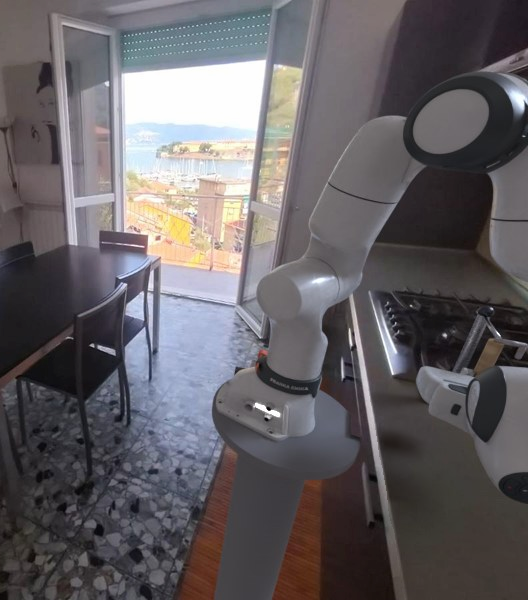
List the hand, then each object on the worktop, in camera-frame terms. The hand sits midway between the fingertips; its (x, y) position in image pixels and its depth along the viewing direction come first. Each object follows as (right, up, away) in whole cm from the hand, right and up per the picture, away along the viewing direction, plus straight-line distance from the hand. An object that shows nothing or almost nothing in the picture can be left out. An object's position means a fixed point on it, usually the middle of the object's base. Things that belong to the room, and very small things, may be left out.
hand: (477, 374), depth 70 cm
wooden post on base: (0, -9, +3) cm, 9 cm away
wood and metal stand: (+7, -12, +14) cm, 20 cm away
